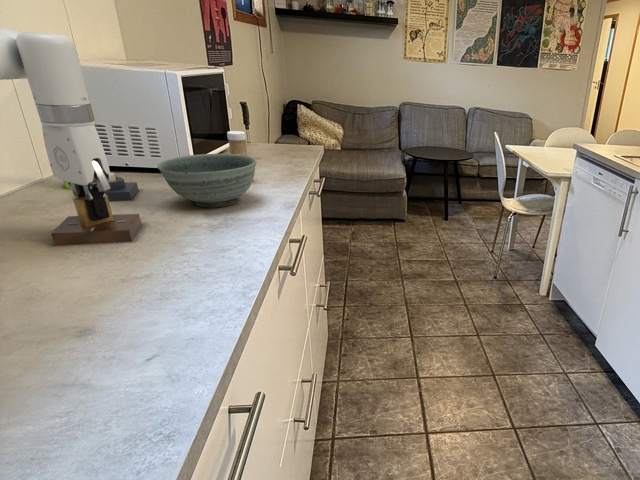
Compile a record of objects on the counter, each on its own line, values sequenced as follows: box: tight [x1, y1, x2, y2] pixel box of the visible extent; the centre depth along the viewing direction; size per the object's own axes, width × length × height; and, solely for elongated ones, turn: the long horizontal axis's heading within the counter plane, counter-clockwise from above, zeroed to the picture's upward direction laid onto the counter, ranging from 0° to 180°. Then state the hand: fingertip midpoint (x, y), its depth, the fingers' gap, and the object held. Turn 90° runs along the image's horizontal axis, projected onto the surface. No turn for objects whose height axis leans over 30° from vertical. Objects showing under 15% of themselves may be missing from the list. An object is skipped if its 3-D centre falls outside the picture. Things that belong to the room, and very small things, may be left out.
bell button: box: [108, 171, 116, 182], centre depth 111 cm, size 4×4×2 cm
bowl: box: [157, 153, 257, 208], centre depth 112 cm, size 21×21×10 cm
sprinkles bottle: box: [226, 130, 248, 156], centre depth 129 cm, size 5×5×14 cm
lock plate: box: [50, 213, 143, 247], centre depth 91 cm, size 12×10×3 cm
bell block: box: [91, 176, 140, 202], centre depth 112 cm, size 10×9×4 cm
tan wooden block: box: [72, 194, 114, 227], centre depth 89 cm, size 5×2×5 cm, turn 154°
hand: (96, 217), depth 89 cm, fingers closed on tan wooden block
